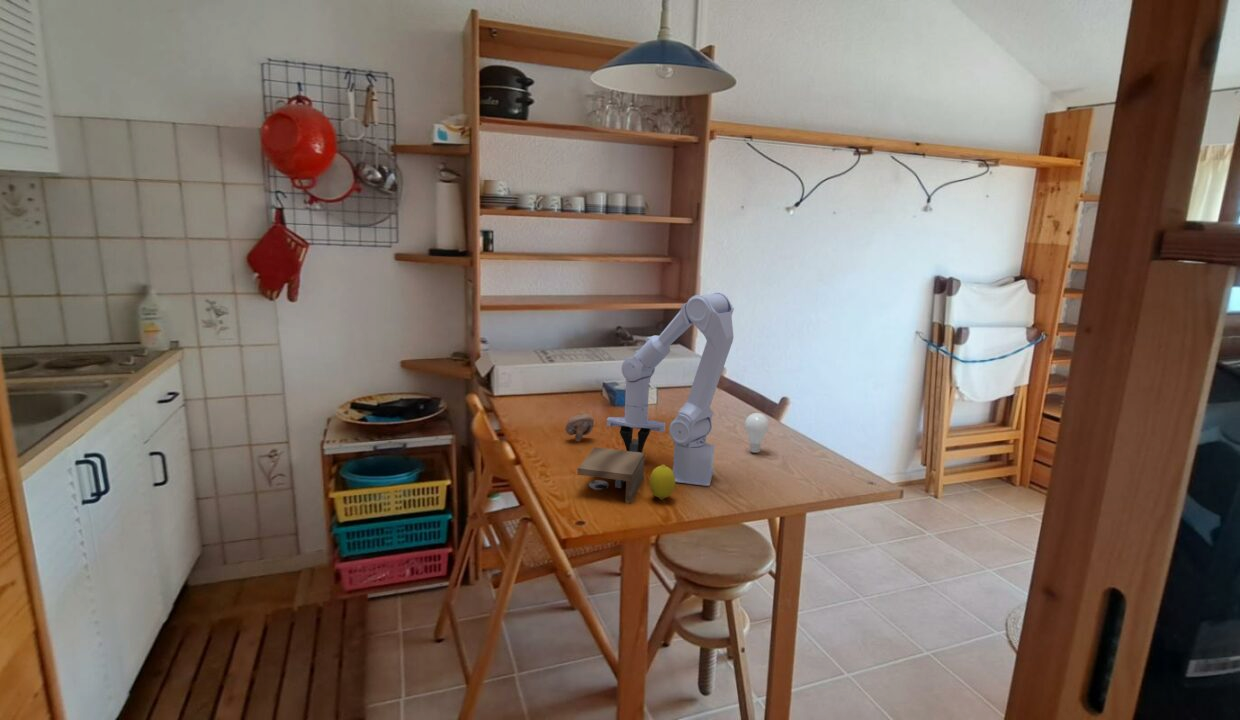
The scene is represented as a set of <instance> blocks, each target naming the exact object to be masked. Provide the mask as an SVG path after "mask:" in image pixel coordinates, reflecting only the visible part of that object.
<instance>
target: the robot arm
mask: <svg viewBox="0 0 1240 720" xmlns="http://www.w3.org/2000/svg"><path fill="white" fill-rule="evenodd" d="M734 310H735V308H734V307H733V305H732V303H731V301H730V299H729V298H728V296H726V294H724V293H721V292H714V293H710V294H702V295H701V294H698V295H697V294H696V295H692V296H691V297H690V298H689V299H688V300H687V302H685V303H684V304H683V305H682V306H681V308H680V309H679V311H678V313H677V314H676V315H675V316H674V317H673V319H672V320H671V321H670V322H669V323H668V325H666V327H665V328H664V329H663V331H662V332H661V333H660V334H659V335H652V336H648V337H646V338H645V343H644V344H643V345H642V346H641V348H639V349H637V350H635V352H634V355H633V356H630V357H626V358H625V359H624V361H623V362H622V364H621V374H622V376H623V378H625V393H624V394H625V396H624V400H625V401H624V416H623V417H622V416H621V417H613V416H612V417H610V416H608V417H607V419H606V427H609V428H611V427H616V428H618V427H619V428H620V430H619V434H620V436H621V438H622V441H623V443H624V445H625V451H630V443H631V441H632V440H633V433H634V430H635V429H636V430H638V432H637V439H638V452H641V453H643V450H644V446H645V444H646V443H647V439H648V437H649V435H650V433H651V431H654V432H659V433H664V432H665V431H666V422H661V421H657V420H652V419H648V415H649V414H648V413H649V412H648V411H649V391H650V389H649V388H650V384H651V378H652V377H653V375H654V374H655V371H656V367H657V366H659V365H660V363H661V362H662V361H663V360H664V359H665V358H666V357H667V356H668V355H669V354H670V353H671V345H672V344H673V343H674V342H675V341H676V340H677V339H678V338H679V337H681V336H682V335H683V334H684V333H685V332H686V331H687V330H688V329H689V328H691V326H692V325H693V326H695V328H696V329H698V330H699V332H700V333H701V334H702V335H703V336H704V338H705V340H706V343H705V345H704V349H703V351H702V355H701V358H700V361H699V363H698V367H697V369H696V373H695V376H694V378H693V382H692V385H691V388H690V391H689V394H688V397H687V400H686V402H685V403H684V404H683V405H682V406H681V407H680V409H679V410H678V412H677V414H676V417H675V418H674V419H673V420H672V421H671V422H670V423H669V428H668V430H669V431H668V432H669V435H670V438H671V440H672V441H673V445H674V447H673V449H674V450H673V463H672V464H673V466H672V471H673V473H674V476H675V483H678V484H679V483H680V484H687V485H695V486H704V487H710V485H711V481H712V476H713V475H714V457H715V456H714V453H715V445H714V444H711V443H707V442H706V441H707V436H708V435H709V434H710V433H711V432H712V428H713V424H712V423H713V422H712V421H713V420H712V419H713V415H714V411H712V409H711V405H712V401H713V399H714V395H715V393H716V390H717V387H718V386H719V385H718V384H719V382H720V379H721V376H722V373H723V370H724V367H725V365H726V362H727V358H728V355H729V353H730V350H731V348H732V347H731V346H732V344H733V342H734V328H733V327H734V326H733V318H732V317H733V312H734Z"/></svg>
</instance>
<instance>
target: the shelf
mask: <svg viewBox="0 0 1240 720" xmlns="http://www.w3.org/2000/svg"><path fill="white" fill-rule="evenodd" d="M644 471H645V452H642V453H641V452H632V451H626V450H622V449H614V448H605V447H595V446H594V448H593V449H592V450H591V452H590V453H589V454H588V455H587V456H586V458H585V459H584V460H583V461H582V462H581V463H580V465H579V466H578V467H577V475H578V476H584V477H593V478H602V479H608V480H609V479H610V480H615V481H616V480H624V482H625V500H624V501H625V502H626V504H632V503H633V500H634V498H635V496H636V494H637V492H638V490H639V489H640V486H641V484H642V483H643V481H644V476H645V475H644ZM625 502H624V503H625Z"/></svg>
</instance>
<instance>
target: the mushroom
mask: <svg viewBox="0 0 1240 720" xmlns="http://www.w3.org/2000/svg"><path fill="white" fill-rule="evenodd" d="M594 422H595V419H594V417H593V416H592V415H590V414H589V413H583V414H582V413H579V414H577V415H576V414H575V415H573V416H571V417H570V418H569V419H568V420H567V422H566V425H565V432H566V434H567V435H569V436H574V435H575V436H574V439H575V442H578V441H579V442H581V440H582V438H583V437H584V436H587V435H589V434H590V433H591V432H592V430H593V428H594V426H595V425H594Z"/></svg>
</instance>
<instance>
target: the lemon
mask: <svg viewBox="0 0 1240 720" xmlns="http://www.w3.org/2000/svg"><path fill="white" fill-rule="evenodd" d="M649 477H650V478H649V488H650V489H649V490H651V491H650V492H651V493H652V494H653V496H655V497H656V498H659V499H660V500H661V501H662V500H664V499H665V498H666V499H667V498H668V497H670V496H671V495H672V494H673V492H674V491H675V487H676V482H675V476H674V473H673V469H671V468H670V467H669V466H666V465H665V464H661V465H659V466H657V467H655V468H654V469H653V470H652V472H651V474H650V476H649Z"/></svg>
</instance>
